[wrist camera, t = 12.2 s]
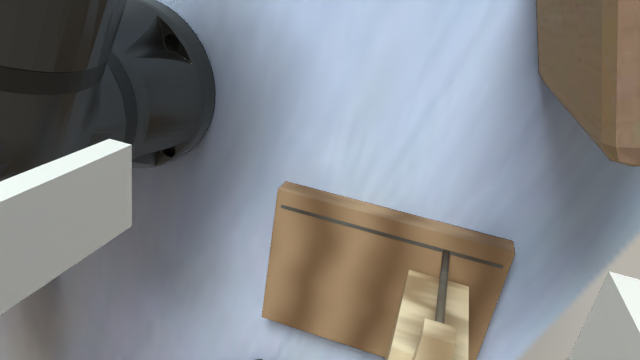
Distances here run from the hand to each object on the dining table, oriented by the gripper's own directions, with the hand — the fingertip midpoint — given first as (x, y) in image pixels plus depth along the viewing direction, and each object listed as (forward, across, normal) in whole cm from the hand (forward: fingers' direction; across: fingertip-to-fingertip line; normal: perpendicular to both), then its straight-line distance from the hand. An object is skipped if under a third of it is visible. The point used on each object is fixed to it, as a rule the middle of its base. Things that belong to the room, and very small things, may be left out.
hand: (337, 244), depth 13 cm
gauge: (+26, +5, -19) cm, 33 cm away
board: (+27, 0, -18) cm, 32 cm away
